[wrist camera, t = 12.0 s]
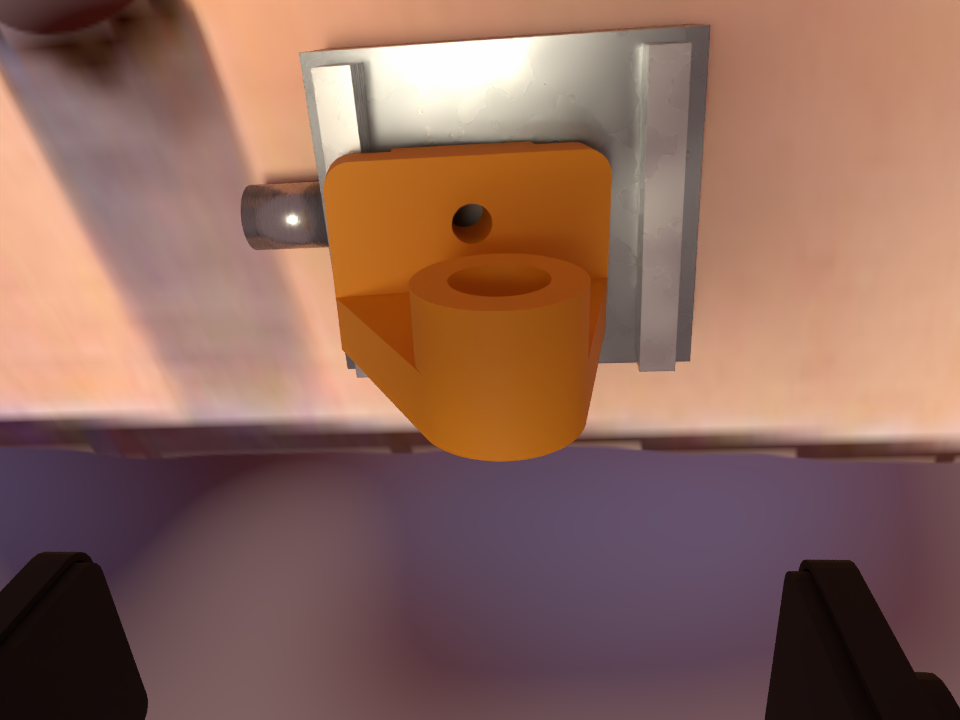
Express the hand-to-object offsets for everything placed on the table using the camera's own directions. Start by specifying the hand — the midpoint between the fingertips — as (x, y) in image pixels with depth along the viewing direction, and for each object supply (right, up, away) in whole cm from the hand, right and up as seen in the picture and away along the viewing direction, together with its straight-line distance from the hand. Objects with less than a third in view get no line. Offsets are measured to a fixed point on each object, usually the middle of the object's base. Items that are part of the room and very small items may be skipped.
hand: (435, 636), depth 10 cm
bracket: (0, +9, +21) cm, 23 cm away
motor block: (0, +12, +25) cm, 28 cm away
